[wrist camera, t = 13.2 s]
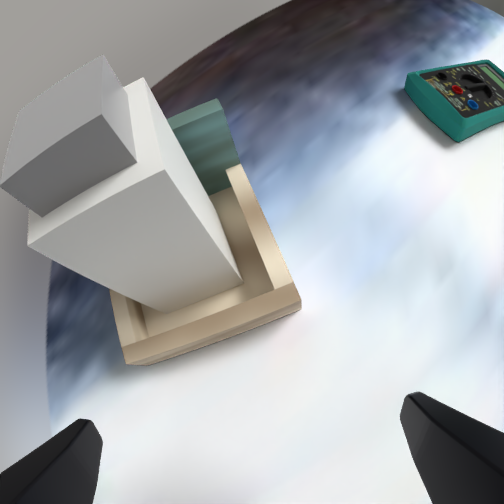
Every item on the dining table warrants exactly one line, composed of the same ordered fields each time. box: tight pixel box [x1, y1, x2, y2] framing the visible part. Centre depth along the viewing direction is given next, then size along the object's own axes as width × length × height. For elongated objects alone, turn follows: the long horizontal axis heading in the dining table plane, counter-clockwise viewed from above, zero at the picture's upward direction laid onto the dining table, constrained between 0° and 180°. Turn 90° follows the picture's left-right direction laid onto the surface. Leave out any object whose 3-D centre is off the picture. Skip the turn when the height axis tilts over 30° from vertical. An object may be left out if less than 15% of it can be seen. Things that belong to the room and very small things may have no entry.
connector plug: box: [0, 55, 243, 314], centre depth 13 cm, size 5×5×13 cm
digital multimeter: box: [404, 60, 504, 142], centre depth 20 cm, size 7×15×3 cm, turn 113°
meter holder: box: [109, 99, 301, 366], centre depth 16 cm, size 10×10×7 cm
